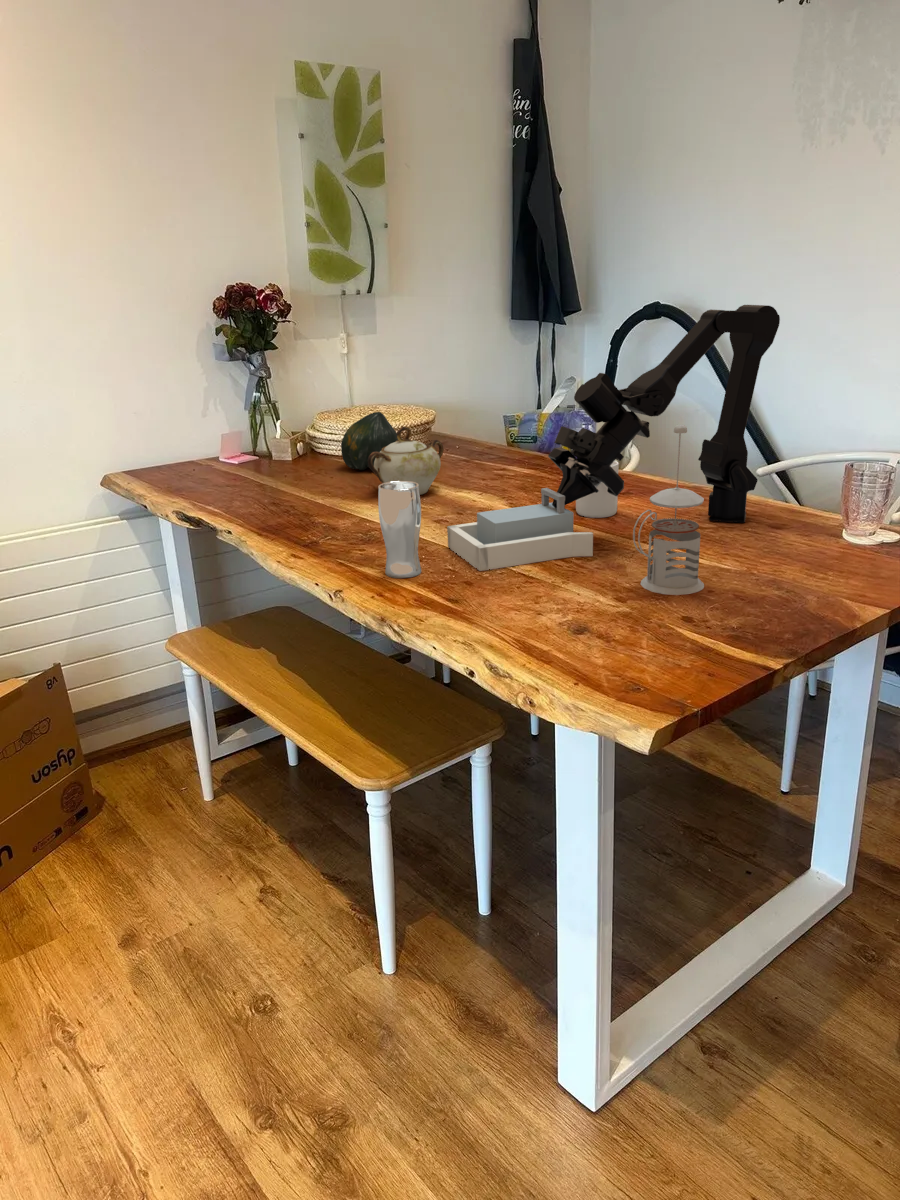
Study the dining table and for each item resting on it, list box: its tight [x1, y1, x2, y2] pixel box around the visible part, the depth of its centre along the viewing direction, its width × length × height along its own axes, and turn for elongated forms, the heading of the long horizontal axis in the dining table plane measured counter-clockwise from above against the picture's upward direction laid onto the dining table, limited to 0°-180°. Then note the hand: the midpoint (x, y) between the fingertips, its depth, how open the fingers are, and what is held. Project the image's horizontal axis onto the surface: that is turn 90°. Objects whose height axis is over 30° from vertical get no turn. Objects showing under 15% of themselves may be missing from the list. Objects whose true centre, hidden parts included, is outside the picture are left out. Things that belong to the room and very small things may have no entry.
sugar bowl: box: [368, 426, 444, 496], centre depth 202 cm, size 20×15×15 cm
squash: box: [340, 411, 398, 471], centre depth 229 cm, size 14×15×15 cm
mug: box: [575, 460, 619, 519], centre depth 182 cm, size 12×8×10 cm
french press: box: [632, 424, 705, 596], centre depth 137 cm, size 10×12×25 cm
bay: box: [446, 521, 594, 572], centre depth 160 cm, size 21×18×4 cm
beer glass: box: [377, 481, 422, 579], centre depth 149 cm, size 7×7×15 cm
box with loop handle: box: [476, 487, 574, 545], centre depth 160 cm, size 15×8×10 cm, turn 111°
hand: (554, 506), depth 161 cm, fingers closed
